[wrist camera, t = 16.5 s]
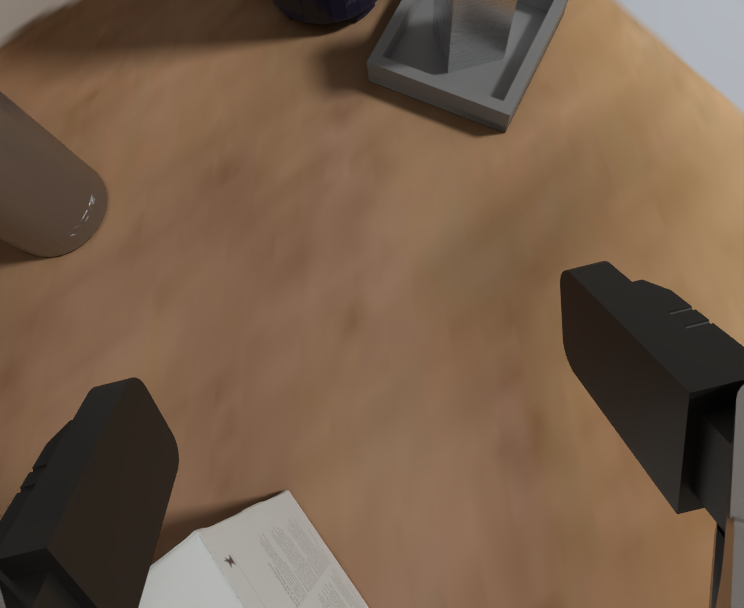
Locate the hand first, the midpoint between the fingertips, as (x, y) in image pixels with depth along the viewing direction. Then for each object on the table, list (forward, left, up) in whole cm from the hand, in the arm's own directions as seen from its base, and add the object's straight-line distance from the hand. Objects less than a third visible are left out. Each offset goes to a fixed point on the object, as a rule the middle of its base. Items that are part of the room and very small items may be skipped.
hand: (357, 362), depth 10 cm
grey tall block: (-9, +32, -30) cm, 45 cm away
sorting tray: (-9, +32, -31) cm, 45 cm away
